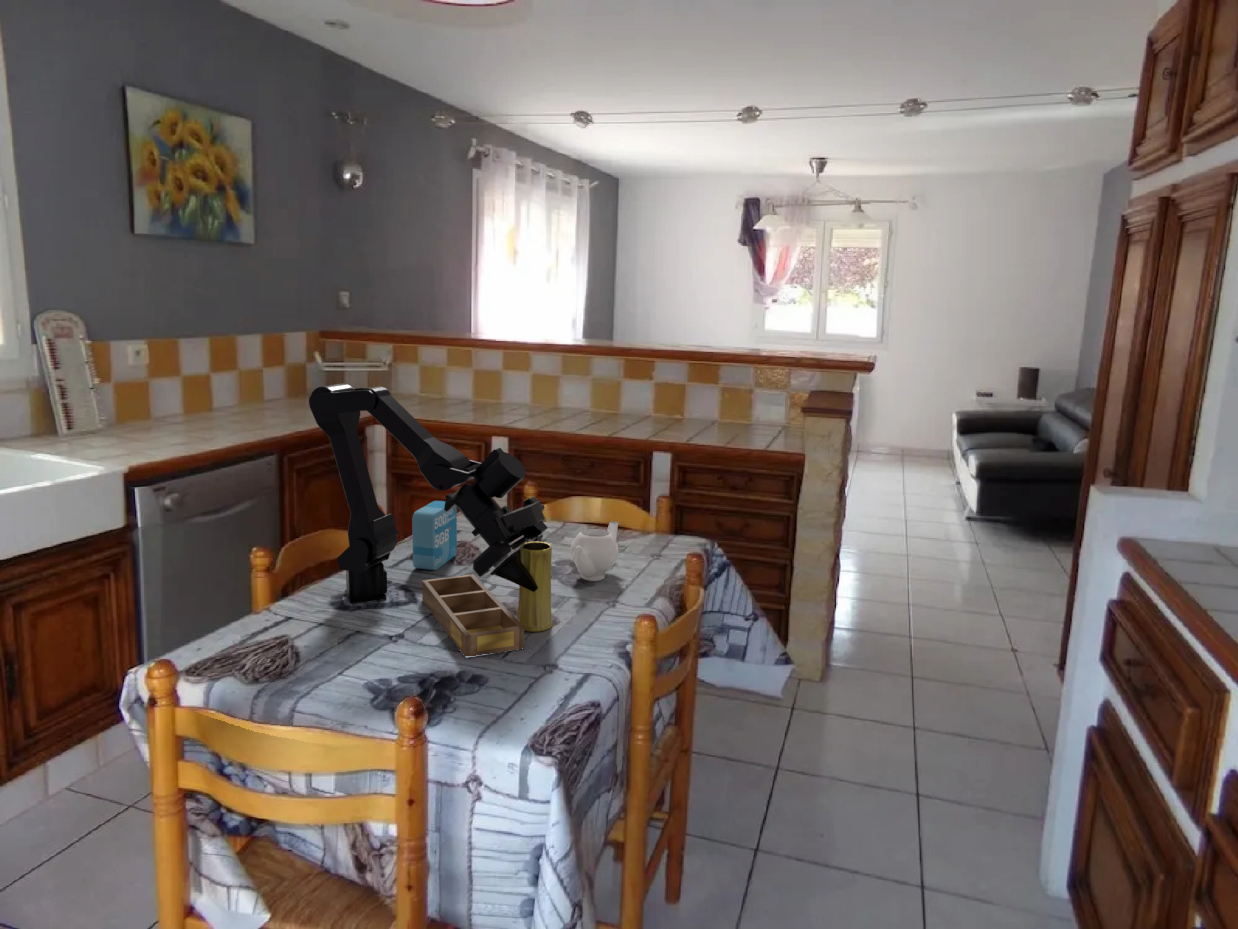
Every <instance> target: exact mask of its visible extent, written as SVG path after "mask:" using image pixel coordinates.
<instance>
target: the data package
mask: <svg viewBox="0 0 1238 929" xmlns="http://www.w3.org/2000/svg"><path fill="white" fill-rule="evenodd" d="M444 507H445V501H444V500H433V501H432V502H429V503H428V504H426V505H425V506H423V507H420V508H419V509H417V510H415V511H414V513H413V514H412V519H411V521H412V522H411V523H412V524H411V525H412V526H411V527H412V528H411V529H412V534H411V535H412V564H413V565H412V566H413V568H415V569H420V570H429V571H436V570H438V569H439V568H441V567H442V566H443V565H445V564H446V563H447V562H449V561H450V560H452V559H453V558H454V557H455V556H456V554H457V552H458V551H457V548H458V540H457V539H458V534H457V532H458V529H457V527H458V522H457V521H458V520H457V519H458V518H457V516H458V514H457V513H458V511H457V510H458V508H457V507H455V508H453V509H451V510H449V511H445V510H444Z"/></svg>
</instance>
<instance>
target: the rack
mask: <svg viewBox="0 0 1238 929" xmlns="http://www.w3.org/2000/svg"><path fill="white" fill-rule="evenodd" d="M421 583H422V588H421V589H422V593H421V594H422V597H421V600H422V602H423V603H424V604H425V606H426V607H427V608H428V610H429V611H430V612H431V614H432V615H433V616H434V618H435V619H436V620H437V622H438V623H439V624H440V626H441V627H442V629H443V630H444V632H445V633H446V635H447V636H448V637H449V638H450V639H451V641H452V642H453V644H454V645H455V644H456V645H455V646H456V648H457V647H458V648H457V649H458V650H459V651H460V650H461V652H462V653H463V654H464V656H476V655H482V654H490V653H498V652H504V653H506V652H505V651H509V650H517V649H522V648H524V649H525V631H524V626H523V625H522V624H521V623H520V622H519V621H518V618H516V617H515V616H514V615H513V613H511V612H510V611H509V610H508V608H507V607H506V606H504V605H503V603H502V602H500V600H499V599H498V598H497V597H496V596H495V595H494V594H493V593H492V592H491V591H490V589H488V588H487V587H486V585H484V584H483V583H482V581H481V580H480V579H478V577H476V575H475V574H473V573H471V574H465V575H456V576H455V575H454V576H448V577H441V578H440V577H439V578H432V579H423V580H422V582H421ZM517 651H518V650H517ZM461 652H460V653H461ZM462 653H461V654H462ZM463 654H462V655H463ZM498 654H499V653H498ZM464 656H463V657H464Z"/></svg>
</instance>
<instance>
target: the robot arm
mask: <svg viewBox="0 0 1238 929" xmlns="http://www.w3.org/2000/svg"><path fill="white" fill-rule="evenodd" d="M308 406H309V409H310V411H311V414H312V416H313V418H314V420H315V423H316V424H317V426H318V427H319V428H320V429H321V430H322V431H323V432H324V434H326V435H327V437H328V439H329V441H330V445H331V448H332V452H333V456H334V459H335V462H336V466H337V470H338V474H339V477H340V482H341V484H342V488H343V492H344V495H345V498H346V502H347V506H348V510H349V513H350V517H349V522H348V523H349V524H348V528H347V540H348V547H347V548H346V549H345V550H344V551H343V552H342V553H341V554H340V555H339V556H338V557H336V561H337V564H338V567H339V570H342V571H345V582H346V583H345V586H346V587H345V588H346V589H344V594H345V596H346V599H347V600H348V602H349V604H350V605H351V604H353V605H354V604H361V603H368V602H369V603H370V602H376V601H377V602H378V601H385V600H387V593H388V572H387V570H386V569H385V568H384V567H385V565H384V563H383V562H385V561H387V560H389V558H390V556H391V553H392V552H393V551H394V549H395V548H396V546H397V544H398V535H400V532H399V531H398V529H397V527H396V524H395V517H394V515H393V513H388V514H385V513H384V512H383V510H382V509H381V508H380V507H379V505H378V501H377V497H376V494H375V490H374V486H373V484H372V483H373V482H372V481H371V476H370V473H369V469H368V468H369V467H368V466H367V462H366V458H365V454H364V452H363V448H362V447H363V446H362V444H361V440H360V436H359V433H358V429H359V422H360V418H361V412H368V413H369V414H370V415H371V416H372V417H373V418H374V419H375V420H377V422H378V423H379V424H380V425H381V426H382V427H383V428H384V429H386V430H387V432H388V433H389V434H390V435H392V436H393V438H394V439H396V440H397V442H399V443H400V444H401V445H402V446H403V447H404V448H405V449H406V450H407V451H408V452H409V453H410V454H411V455H412V456H413V458H414V459H415V460H416V462H417V465H418V469H419V471H420V473H421V475H422V476H423V477H424V478H425V480H426V482H428V484H429V485H430V486H431V487H432V488H433V489H434V490H436V491H448V490H451V489H453V488H455V487H458V486H460V485H462V484H463V485H462V486H460V488H459V489H458V490H456V491H455V492H451V493H448V494H446V495H445V497H444V498H445V501H444V502H445V507H444V510H445V511H449V510H451V509H453V508H455V507H457V510H459V512H460V513H461V514H462V515H463V516H464V517H465V519H466V520H467V521H468V523H470V525H471V526H472V527H473V530H472V531H471V534H472V535H473V536H474V537H478V536H479V535H480V538H482V539H483V540H484V542H485V543H486V544H487V546H488V547H487V548H486V549H484V550H483V551H482V552H481V553H480V554H479V555H478V556H477V557H476V558H475V559H474V560H472V569H473V572H475V573H476V575H477V576H479V578H482V577H483V576H485V575H486V574H488V573H489V572H490V569H491V568H492V567H493V568H494V569H492V571H491V572H490V573H489V574H490V575H491V576H497V577H499V578H501V579H504V580H507V581H508V582H509V581H510V582H511V583H514V584H516V585H518V586H519V585H520V586H522V587H524V588H526V589H528V590H530V591H532V592H535V591H536V590H537V589H538V586H537V584H536V583H535V581H534V579H533V578H532V576H531V575H530V574H529V572H528V571H527V569H526V568H525V566H524V565H523V563H522V562H521V550H520V547H521V545H522V544H524V543H527V542H542V539H543V538H544V535H543V533H544V532H545V531H546V530H547V529H548V526H547V525H546V524H545V522H544V520H545V519H546V518H545V515H544V513H543V512H544V509H545V505H544V504H543V503H541V501H540V500H538V499H537V498H536V497H535V496H532V497H530V498H529V497H528V498H526V499H523V501H522V507H519V508H517V509H515V510H512V509H511V508H510V507H509V506H506V505H504V506H502V507H501V506H500V504H499V503H498V502H497V501H496V500H495V498H497V499H502V498H504V497H505V496H506V495H507V494H508V493H509V492H510V491H511V490H512V489H513V488H515V487H516V486H517V485H518V484H519V483H520V482H521V481H522V480H523V479H524V478H525V477H526V473H527V472H526V469H525V466H524V465H523V463H522V462H521V460H519V459H518V458H516V457H514V456H513V455H512V454H510V453H509V452H505V451H504V450H503V449H502V448H501V447H496V448H495V449H492V451H491V452H490V453H489V454H488V455H487V458H485V459H484V460H483V461H482V462H478V461H475V460H472V459H469V457H467V456H466V455H465V453H463V452H461V451H460V450H458V449H456V448H455V447H454V446H453V445H450V444H448V443H446V442H443V441H441V440H439V439H438V438H436V437H434V435H433V434H431V433H430V432H429V431H428V430H427V429H426V427H424V426H423V424H421V423H420V422H419V421H418V420H417V419H416V418H415V417H414V416H413V415H412V414H411V413H410V412H409V411H408V410H407V409H406V408H405V407H403V406H402V404H401V403H399V402H398V401H397V400H396V399H395V397H394V396H392V394H391V392H390V391H389V389H387V388H386V387H384V386H376V387H375V386H373V387H355V388H354V387H352V386H351V385H349V384H347V383H344V382H343V383H336V384H335V383H334V384H331V385H329V384H328V385H323V386H319V387H316V388H315V389H313V391H312V393H311V394H310V396H309V397H308ZM470 480H474V481H473V482H472V483H471V484H465V483H466V482H468V481H470ZM551 579H552V575H551Z"/></svg>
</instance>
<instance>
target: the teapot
mask: <svg viewBox="0 0 1238 929" xmlns="http://www.w3.org/2000/svg"><path fill="white" fill-rule="evenodd" d="M618 527H619V522H618V521H610V522H609V524H608V526H607V529H606V530H605V529H600V528H588V529H583V530H581V531H579V533H577V535H576V536H575V538H574V539H573V540H572V542H571V544H570V555H571V559H570V561H571V562H573V563H574V564H575V566H576V569H577V571H578V572H579V574H581V579H583V580H585V581H589V582H598V581H602V579H603V580H604V579H605V578H606V573H607V572H608V571H609V570H611V568H612V567H613V565H614V564H615V562H616V561H617V559H618V555H619V549H620V548H619V545H618V543H617V536H618V535H617V534H618Z"/></svg>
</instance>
